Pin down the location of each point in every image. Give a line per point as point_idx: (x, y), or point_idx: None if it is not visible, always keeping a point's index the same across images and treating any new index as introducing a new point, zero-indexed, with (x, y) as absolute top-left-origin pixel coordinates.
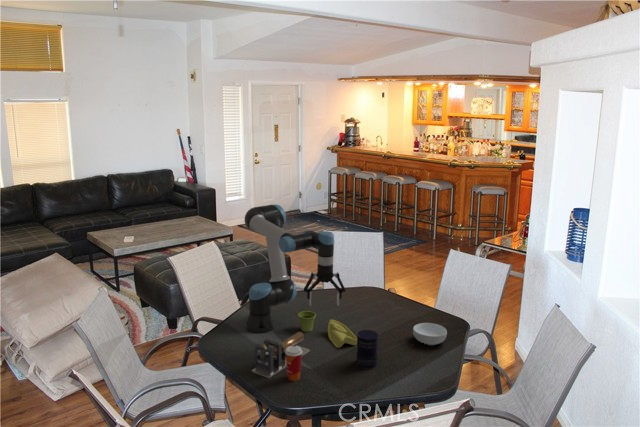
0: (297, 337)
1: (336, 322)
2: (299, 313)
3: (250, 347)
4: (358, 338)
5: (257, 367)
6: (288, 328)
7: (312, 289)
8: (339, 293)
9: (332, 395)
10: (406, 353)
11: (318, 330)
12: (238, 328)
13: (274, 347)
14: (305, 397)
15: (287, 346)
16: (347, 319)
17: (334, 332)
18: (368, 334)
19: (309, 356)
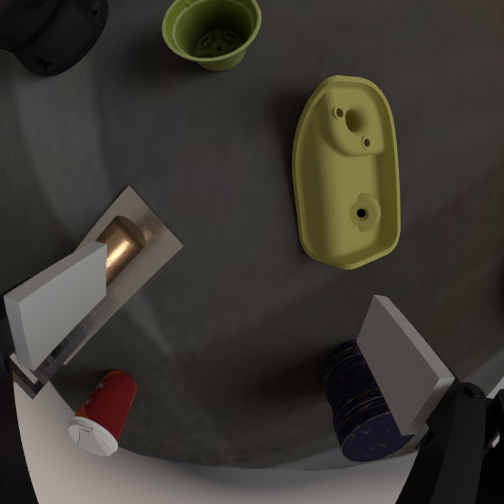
0: (107, 276)
1: (358, 85)
2: (175, 4)
3: (16, 179)
4: (340, 438)
5: None
6: (149, 34)
7: (13, 407)
8: (425, 414)
9: (207, 453)
10: (473, 322)
11: (269, 65)
12: None
13: None
14: (149, 442)
15: None
16: (409, 22)
17: (322, 162)
18: (384, 436)
19: (176, 285)
